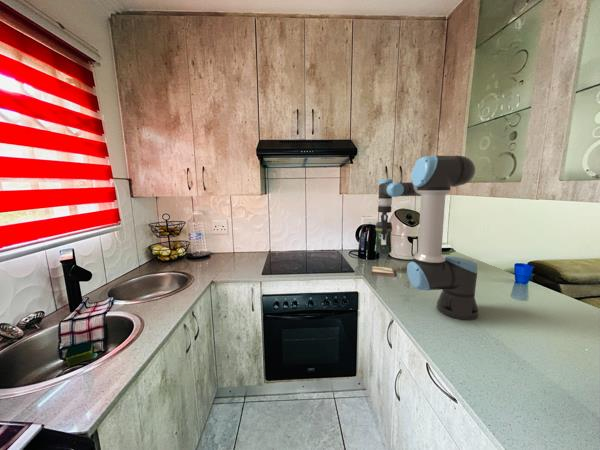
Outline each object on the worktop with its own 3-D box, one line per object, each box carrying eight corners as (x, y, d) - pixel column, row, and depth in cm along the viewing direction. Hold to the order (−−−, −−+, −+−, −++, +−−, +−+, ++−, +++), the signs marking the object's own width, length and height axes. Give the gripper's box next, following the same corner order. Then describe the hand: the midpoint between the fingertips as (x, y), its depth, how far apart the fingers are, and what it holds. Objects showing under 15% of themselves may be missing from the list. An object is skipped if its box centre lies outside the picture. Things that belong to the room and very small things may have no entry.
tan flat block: (394, 276, 148) (394, 273, 147) (371, 274, 151) (371, 271, 151) (392, 270, 158) (392, 267, 158) (371, 268, 162) (371, 266, 161)
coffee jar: (391, 250, 155) (392, 221, 152) (391, 254, 147) (392, 223, 144) (375, 249, 158) (376, 220, 155) (374, 252, 151) (375, 222, 148)
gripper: (377, 204, 159) (376, 238, 163) (378, 207, 139) (377, 246, 143) (390, 204, 157) (388, 239, 161) (392, 207, 137) (390, 247, 141)
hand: (383, 242), depth 152 cm, fingers closed on coffee jar, 8 cm apart
